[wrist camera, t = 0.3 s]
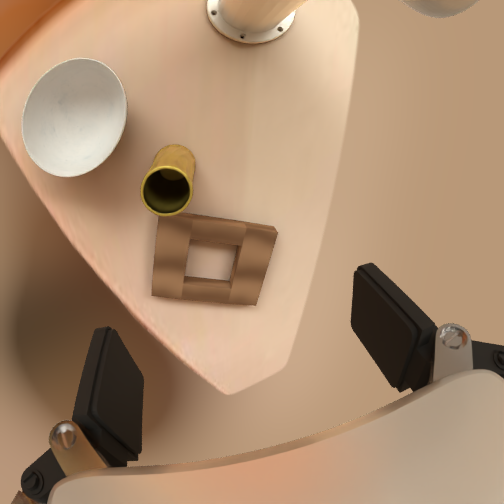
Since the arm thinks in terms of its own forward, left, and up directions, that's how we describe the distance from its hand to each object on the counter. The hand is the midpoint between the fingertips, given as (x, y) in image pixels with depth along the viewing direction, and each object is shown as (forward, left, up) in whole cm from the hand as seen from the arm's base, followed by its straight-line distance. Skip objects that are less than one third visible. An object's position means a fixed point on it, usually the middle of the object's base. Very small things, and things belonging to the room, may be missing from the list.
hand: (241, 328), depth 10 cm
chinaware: (-5, -18, -34) cm, 39 cm away
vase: (+1, -4, -34) cm, 34 cm away
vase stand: (+15, +4, -34) cm, 37 cm away
